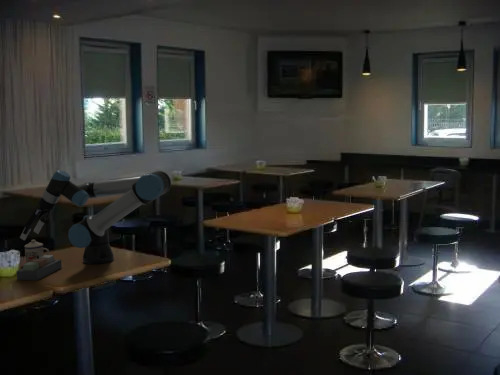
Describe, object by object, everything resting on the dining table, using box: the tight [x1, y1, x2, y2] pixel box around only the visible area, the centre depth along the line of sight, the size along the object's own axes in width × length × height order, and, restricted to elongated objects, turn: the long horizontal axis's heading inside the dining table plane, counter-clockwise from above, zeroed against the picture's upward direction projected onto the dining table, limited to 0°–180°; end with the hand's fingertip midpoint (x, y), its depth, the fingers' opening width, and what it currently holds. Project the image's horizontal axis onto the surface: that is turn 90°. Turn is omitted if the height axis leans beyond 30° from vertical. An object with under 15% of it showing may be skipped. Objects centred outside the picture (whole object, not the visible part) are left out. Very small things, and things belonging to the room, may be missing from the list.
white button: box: [40, 254, 55, 263], centre depth 302 cm, size 5×5×4 cm
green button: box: [22, 262, 39, 271], centre depth 288 cm, size 5×5×4 cm
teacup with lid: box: [23, 239, 50, 264], centre depth 317 cm, size 12×9×12 cm
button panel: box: [16, 259, 62, 281], centre depth 295 cm, size 10×22×4 cm, turn 168°
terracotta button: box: [32, 259, 47, 267], centre depth 295 cm, size 5×5×4 cm
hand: (29, 235), depth 308 cm, fingers open, 13 cm apart
